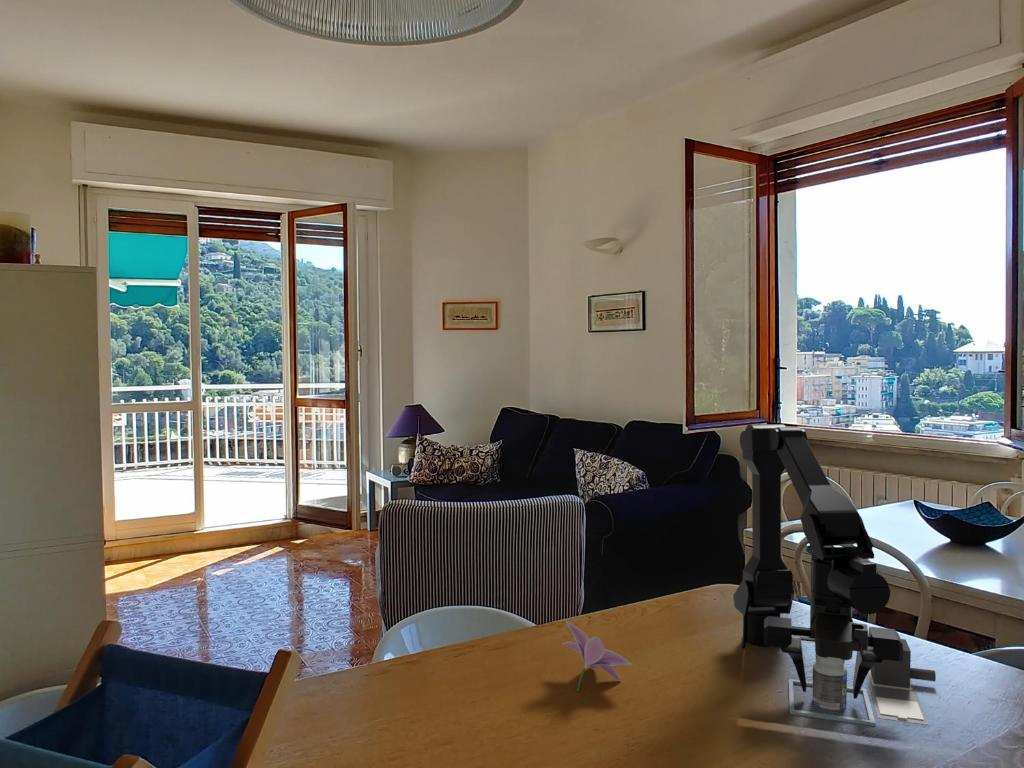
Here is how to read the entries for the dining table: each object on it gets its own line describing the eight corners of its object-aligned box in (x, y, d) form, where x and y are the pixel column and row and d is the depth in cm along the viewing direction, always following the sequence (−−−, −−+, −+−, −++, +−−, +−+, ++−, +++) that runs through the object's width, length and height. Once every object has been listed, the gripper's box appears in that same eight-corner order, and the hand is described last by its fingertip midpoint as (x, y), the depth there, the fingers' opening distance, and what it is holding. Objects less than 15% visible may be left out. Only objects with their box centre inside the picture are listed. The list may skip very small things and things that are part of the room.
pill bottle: (849, 716, 113) (850, 659, 112) (815, 713, 114) (816, 657, 113) (842, 701, 117) (843, 647, 117) (809, 699, 118) (810, 644, 118)
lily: (635, 707, 118) (647, 643, 122) (567, 686, 115) (582, 621, 119) (598, 699, 129) (610, 640, 132) (535, 680, 126) (550, 620, 129)
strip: (877, 723, 111) (877, 715, 111) (864, 672, 128) (864, 666, 128) (928, 730, 108) (929, 722, 108) (908, 677, 126) (908, 671, 125)
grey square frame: (789, 718, 112) (789, 710, 112) (788, 686, 123) (788, 678, 122) (875, 731, 108) (875, 722, 108) (866, 696, 119) (866, 689, 119)
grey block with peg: (874, 684, 121) (875, 647, 121) (870, 672, 126) (871, 635, 126) (937, 692, 118) (938, 654, 118) (931, 679, 123) (932, 642, 123)
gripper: (764, 601, 110) (762, 709, 111) (910, 615, 104) (907, 729, 105) (765, 578, 120) (763, 677, 121) (898, 590, 114) (895, 694, 115)
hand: (829, 694), depth 115 cm, fingers open, 7 cm apart
